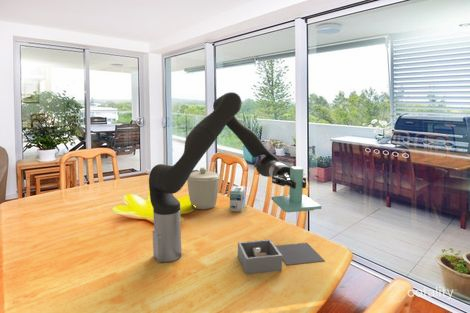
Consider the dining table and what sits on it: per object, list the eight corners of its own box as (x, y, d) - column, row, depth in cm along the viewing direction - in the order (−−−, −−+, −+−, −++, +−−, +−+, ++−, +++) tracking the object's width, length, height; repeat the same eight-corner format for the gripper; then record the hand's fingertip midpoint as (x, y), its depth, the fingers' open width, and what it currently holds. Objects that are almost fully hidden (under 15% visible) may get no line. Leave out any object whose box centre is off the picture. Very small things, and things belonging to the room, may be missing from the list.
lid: (321, 211, 103) (323, 171, 101) (284, 214, 100) (286, 173, 98) (304, 199, 116) (305, 163, 113) (271, 201, 113) (272, 164, 110)
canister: (226, 208, 160) (226, 169, 157) (195, 214, 151) (194, 173, 147) (210, 199, 176) (210, 163, 172) (181, 204, 166) (180, 166, 162)
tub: (281, 272, 100) (282, 255, 99) (246, 276, 98) (246, 259, 97) (269, 254, 112) (270, 239, 111) (237, 258, 109) (237, 242, 108)
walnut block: (268, 269, 100) (269, 258, 100) (257, 270, 100) (257, 259, 99) (265, 263, 104) (265, 252, 104) (253, 264, 103) (253, 253, 103)
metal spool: (255, 261, 105) (255, 250, 105) (250, 258, 108) (250, 247, 107) (262, 259, 107) (262, 248, 106) (257, 255, 109) (257, 245, 109)
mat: (324, 263, 106) (324, 260, 106) (286, 267, 103) (286, 264, 103) (306, 245, 120) (307, 242, 120) (272, 248, 117) (272, 245, 117)
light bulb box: (242, 212, 155) (242, 191, 154) (229, 211, 157) (229, 190, 155) (245, 205, 166) (246, 185, 164) (233, 204, 167) (233, 185, 165)
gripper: (264, 164, 118) (280, 175, 101) (298, 163, 121) (319, 173, 105) (263, 183, 119) (279, 197, 103) (297, 181, 122) (318, 194, 106)
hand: (299, 185), depth 104 cm, fingers closed on lid, 3 cm apart
